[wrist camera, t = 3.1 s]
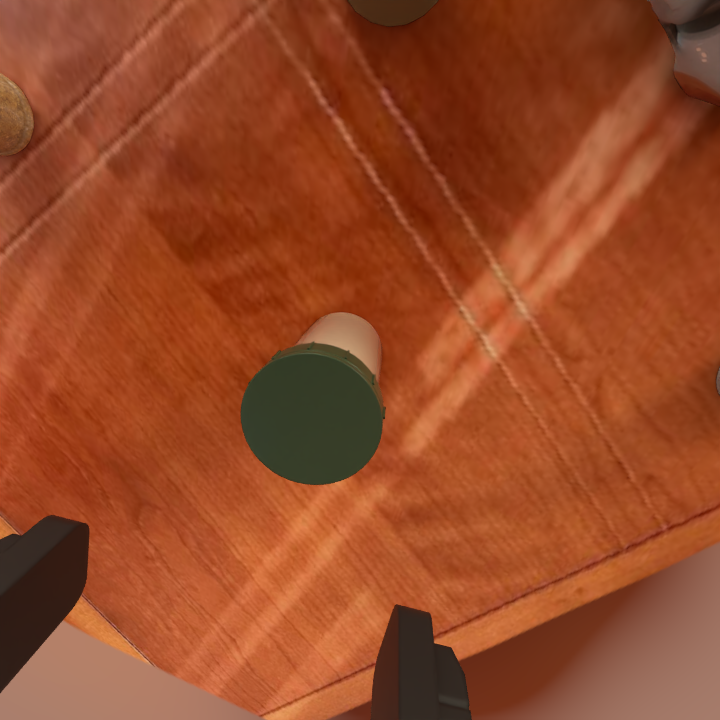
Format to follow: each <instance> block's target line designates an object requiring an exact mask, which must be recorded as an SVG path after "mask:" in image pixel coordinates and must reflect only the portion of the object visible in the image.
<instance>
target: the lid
mask: <svg viewBox="0 0 720 720" xmlns="http://www.w3.org/2000/svg"><path fill="white" fill-rule="evenodd" d="M385 409H386V408H385V407H384V405H383V397H382V393H381V389H380V387H379V384H378V382H377V380H376V375H375V374H374V375H373V373H372V372H371V371H370V369H369V368H368V367H367V366H366V365H365V364H364V363H363V362H362V361H361V360H360V359H358V358H357V357H356V356H354V355H353V354H351V353H350V350H347V351H346V350H344V349H341V348H339V347H336V346H333V345H328V344H323V343H315V341H312V342H311V343H306V344H300V345H296V346H293V347H290V348H287V349H285V350H283V351H280V350H279V351H278V352H277V353H276V354H275V355H274V356H273V357H272V358H271V360H270V361H269V362H267V364H266V365H265V366H264V367H263V368H262V369H261V370H260V371H259V372H258V373H257V374H256V375H255V376H254V377H253V379H252V380H251V381H250V382H249V384H248V387H247V388H246V391H245V393H244V396H243V400H242V404H241V424H242V429H243V433H244V436H245V439H246V441H247V443H248V445H249V447H250V448H251V450H252V451H253V453H254V454H255V455H256V457H257V458H258V459H259V460H260V461H261V462H262V463H263V464H264V465H265V466H266V467H267V468H269V469H270V470H271V471H273V472H274V473H276V474H278V475H279V476H281V477H284V478H286V479H288V480H291V481H294V482H297V483H302V484H310V485H324V484H330V483H335V482H338V481H341V480H344V479H346V478H348V477H350V476H352V475H354V474H355V473H357V472H358V471H359V470H360V469H362V468H363V467H364V466H365V465H366V464H367V463H368V462H369V460H370V459H371V458H372V456H373V455H374V453H375V451H376V449H377V447H378V445H379V442H380V439H381V434H382V426H383V419H385Z"/></svg>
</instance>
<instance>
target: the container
mask: <svg viewBox="0 0 720 720" xmlns="http://www.w3.org/2000/svg"><path fill="white" fill-rule="evenodd" d="M716 385H717V390H718V393H719V395H720V368H719V371H718V374H717V379H716Z"/></svg>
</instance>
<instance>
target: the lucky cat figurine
mask: <svg viewBox="0 0 720 720" xmlns="http://www.w3.org/2000/svg"><path fill="white" fill-rule="evenodd" d="M647 1H650V3H651V4H652V9H653V11H654V12H655V14H656V15H657V16H658V18H659V19H658V21H659V22H660V23H661V25H662V26H663V28H664V30H665V31H666V33H667V35H668V38H669V40H670V42H671V45H672V47H673V49H674V52H675V57H676V58H675V64H674V70H673V72H674V76H675V79H676V81H677V82H678V84H679V85H680V87H681V89H682V90H683V91H684V92H685V93H686V94H687V95H688V96H690V97H694V98H696V99H699V100H703V101H705V102H708V103H711V104H715V105H717V106H719V107H720V0H647Z"/></svg>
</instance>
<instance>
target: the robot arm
mask: <svg viewBox="0 0 720 720" xmlns="http://www.w3.org/2000/svg"><path fill="white" fill-rule="evenodd" d="M88 548H89V526H88V525H87V524H86V523H82V522H78V521H74V520H70V519H66V518H62V517H59V516H55V515H49V516H47V517H45V518H43V519H42V520H41V521H39V522H38V523H37V524H36V525H34V526H33V527H32V528H31V529H30V530H28V531H27V532H26V533H25V534H23V535H22V536H20V535H16V534H11V535H9V536H7V537H4V538H2V539H0V693H1V692H2V690H3V689H4V688H5V687H6V686H7V685H8V684H9V682H10V681H11V680H12V679H13V678H14V677H15V675H16V674H17V673H18V672H19V671H20V669H21V668H22V667H23V666H24V665H25V664H26V663H27V661H28V660H29V659H30V658H31V657H32V656H33V654H34V653H35V652H36V651H37V650H38V649H39V647H40V646H41V645H42V644H43V643H44V642H45V640H46V639H47V638H48V637H49V636H50V634H51V633H52V632H53V631H54V630H55V629H56V628H57V626H58V625H59V624H60V623H61V622H62V621H63V619H64V618H65V617H66V616H67V615H68V614H69V612H70V611H71V610H72V609H73V607H74V606H75V604H76V603H77V601H78V600H79V598H80V596H81V594H82V592H83V589H84V587H85V584H86V579H87V566H88ZM371 720H472V719H471V712H470V710H469V699H468V692H467V686H466V679H465V674H464V672H463V670H462V668H461V666H460V664H459V662H458V660H457V658H456V656H455V654H454V652H453V650H452V648H451V647H447V646H443V645H439V644H435V643H434V639H433V628H432V618H431V615H430V613H429V612H425V611H421V610H417V609H413V608H409V607H405V606H401V605H397V604H396V605H395V606H394V609H393V611H392V614H391V617H390V620H389V623H388V626H387V629H386V632H385V635H384V638H383V641H382V644H381V647H380V650H379V654H378V657H377V661H376V666H375V672H374V678H373V688H372V706H371Z"/></svg>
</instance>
